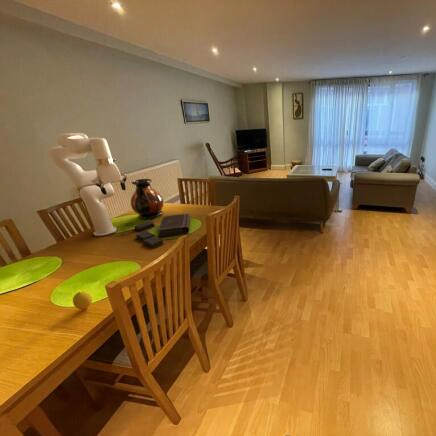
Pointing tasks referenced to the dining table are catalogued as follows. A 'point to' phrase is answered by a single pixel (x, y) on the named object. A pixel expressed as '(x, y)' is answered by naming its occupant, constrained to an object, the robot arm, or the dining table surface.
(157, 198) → the amphora vase
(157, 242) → the pad base
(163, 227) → the diary
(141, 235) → the pad mid
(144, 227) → the pad top
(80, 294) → the brown egg shape
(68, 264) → the dining table surface
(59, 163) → the robot arm
